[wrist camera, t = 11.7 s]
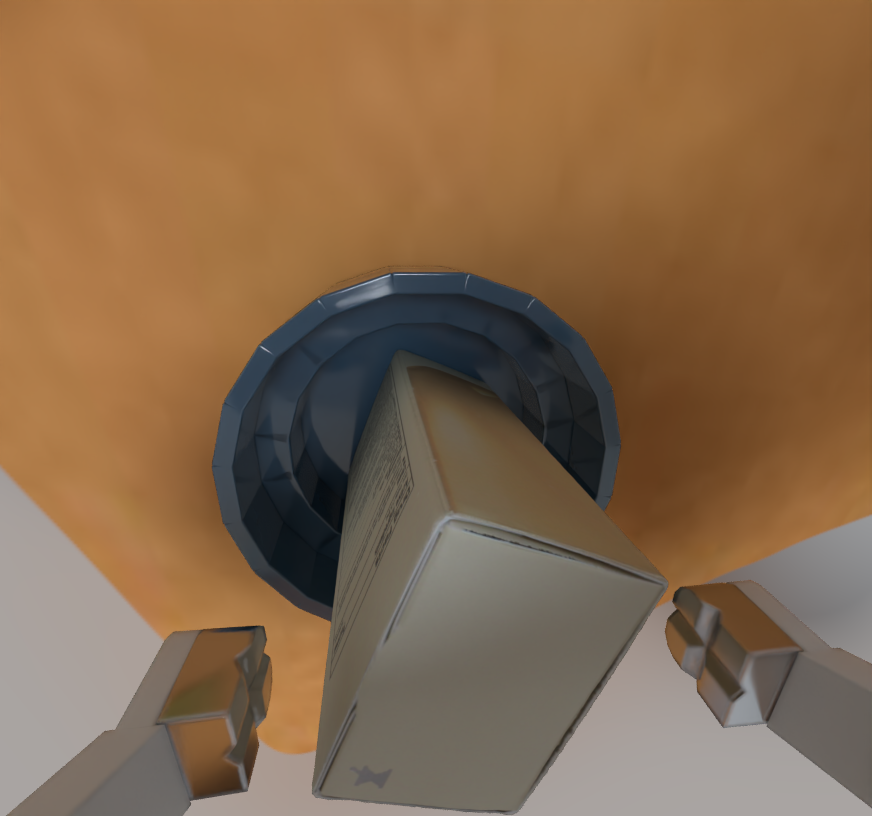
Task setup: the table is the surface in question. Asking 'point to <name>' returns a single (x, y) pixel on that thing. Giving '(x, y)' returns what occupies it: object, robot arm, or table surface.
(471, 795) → the cosmetic box
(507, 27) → the table surface
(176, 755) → the robot arm
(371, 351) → the bowl
